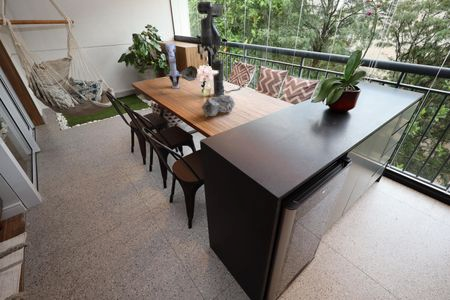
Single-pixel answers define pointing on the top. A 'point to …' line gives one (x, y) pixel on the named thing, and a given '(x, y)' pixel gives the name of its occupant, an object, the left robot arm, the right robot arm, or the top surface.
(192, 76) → the bark piece
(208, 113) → the rock
